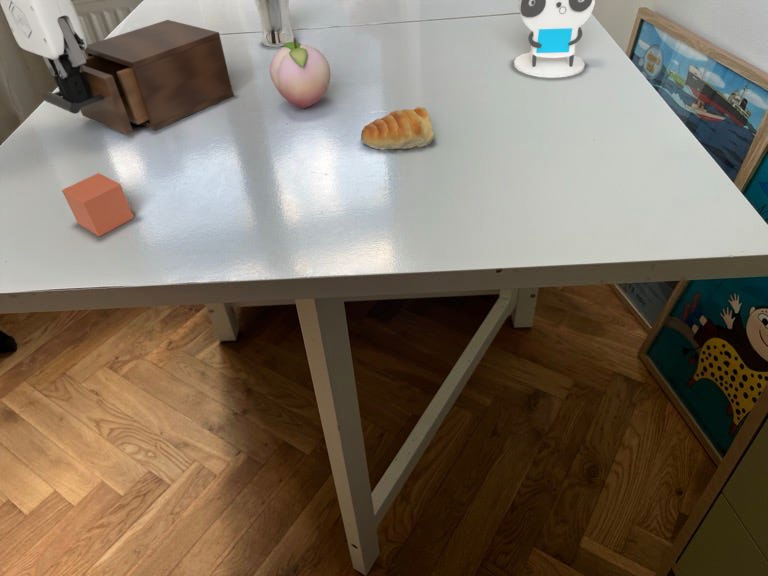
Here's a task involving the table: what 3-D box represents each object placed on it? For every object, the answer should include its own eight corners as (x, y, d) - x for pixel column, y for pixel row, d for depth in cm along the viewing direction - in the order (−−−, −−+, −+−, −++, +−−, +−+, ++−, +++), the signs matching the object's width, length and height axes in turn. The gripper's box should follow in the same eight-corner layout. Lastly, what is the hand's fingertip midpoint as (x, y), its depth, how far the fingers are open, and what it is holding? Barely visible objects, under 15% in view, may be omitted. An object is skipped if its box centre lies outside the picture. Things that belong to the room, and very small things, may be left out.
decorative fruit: (344, 111, 82) (337, 41, 75) (292, 125, 79) (281, 53, 72) (318, 91, 88) (310, 24, 81) (269, 103, 85) (257, 34, 78)
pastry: (369, 158, 71) (368, 130, 68) (355, 136, 75) (353, 109, 73) (438, 144, 73) (438, 117, 70) (419, 124, 77) (419, 97, 75)
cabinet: (155, 130, 79) (132, 62, 73) (107, 110, 85) (82, 46, 79) (233, 95, 88) (219, 32, 81) (184, 80, 94) (167, 19, 87)
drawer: (93, 148, 74) (69, 91, 69) (50, 128, 79) (25, 73, 74) (203, 101, 84) (189, 48, 79) (159, 85, 90) (143, 35, 85)
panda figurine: (512, 77, 89) (523, -28, 79) (508, 53, 97) (518, -45, 87) (589, 77, 87) (611, -30, 77) (578, 52, 96) (596, -47, 86)
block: (99, 237, 60) (82, 202, 57) (77, 223, 62) (61, 189, 59) (134, 218, 63) (120, 184, 60) (112, 205, 65) (98, 172, 62)
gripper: (-47, -51, 65) (27, 101, 77) (13, -39, 58) (84, 126, 70) (16, -62, 69) (77, 83, 81) (79, -53, 62) (135, 105, 74)
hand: (80, 103), depth 76 cm, fingers closed
